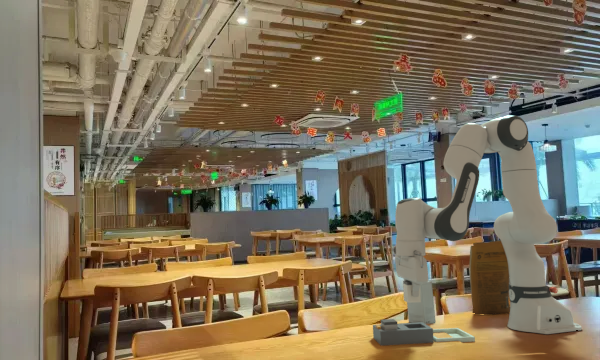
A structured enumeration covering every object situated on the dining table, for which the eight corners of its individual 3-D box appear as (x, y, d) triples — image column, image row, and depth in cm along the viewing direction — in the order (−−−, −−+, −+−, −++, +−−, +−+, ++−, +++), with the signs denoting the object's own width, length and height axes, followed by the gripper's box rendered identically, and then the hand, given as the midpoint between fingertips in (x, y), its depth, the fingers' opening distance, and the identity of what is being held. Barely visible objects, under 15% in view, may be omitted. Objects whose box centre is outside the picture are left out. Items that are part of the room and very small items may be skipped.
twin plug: (394, 338, 146) (393, 319, 147) (398, 342, 142) (397, 321, 143) (381, 339, 146) (380, 319, 146) (385, 342, 142) (384, 322, 142)
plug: (416, 300, 148) (415, 280, 148) (420, 302, 144) (420, 282, 144) (403, 300, 147) (403, 280, 148) (407, 302, 143) (407, 282, 144)
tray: (458, 333, 154) (457, 327, 154) (475, 343, 142) (474, 336, 142) (422, 335, 153) (422, 329, 153) (436, 345, 141) (436, 339, 141)
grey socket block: (423, 338, 149) (422, 320, 150) (433, 345, 140) (432, 326, 141) (373, 341, 148) (372, 322, 148) (381, 348, 139) (380, 329, 139)
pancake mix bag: (521, 313, 181) (516, 240, 184) (475, 316, 178) (470, 242, 181) (510, 310, 188) (506, 239, 190) (466, 313, 185) (461, 241, 187)
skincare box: (436, 323, 170) (433, 281, 171) (424, 326, 166) (422, 283, 167) (418, 319, 176) (416, 279, 178) (406, 322, 173) (404, 281, 174)
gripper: (432, 251, 137) (434, 300, 136) (410, 247, 157) (411, 290, 156) (411, 252, 136) (413, 301, 135) (391, 248, 157) (392, 290, 155)
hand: (412, 295), depth 146 cm, fingers closed on plug, 4 cm apart
